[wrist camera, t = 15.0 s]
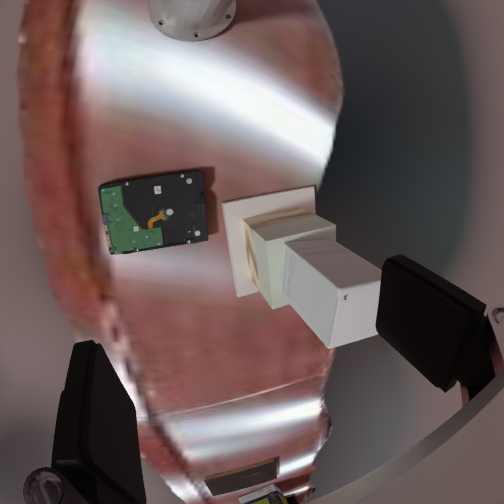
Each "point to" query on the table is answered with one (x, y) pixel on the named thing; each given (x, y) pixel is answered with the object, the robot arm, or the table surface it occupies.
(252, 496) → the tea box
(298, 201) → the base board
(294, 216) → the lower block
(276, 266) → the upper block
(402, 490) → the robot arm
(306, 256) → the supplement box
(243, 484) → the hardcover book
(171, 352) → the table surface
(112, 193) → the disk drive
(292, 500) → the letter holder
